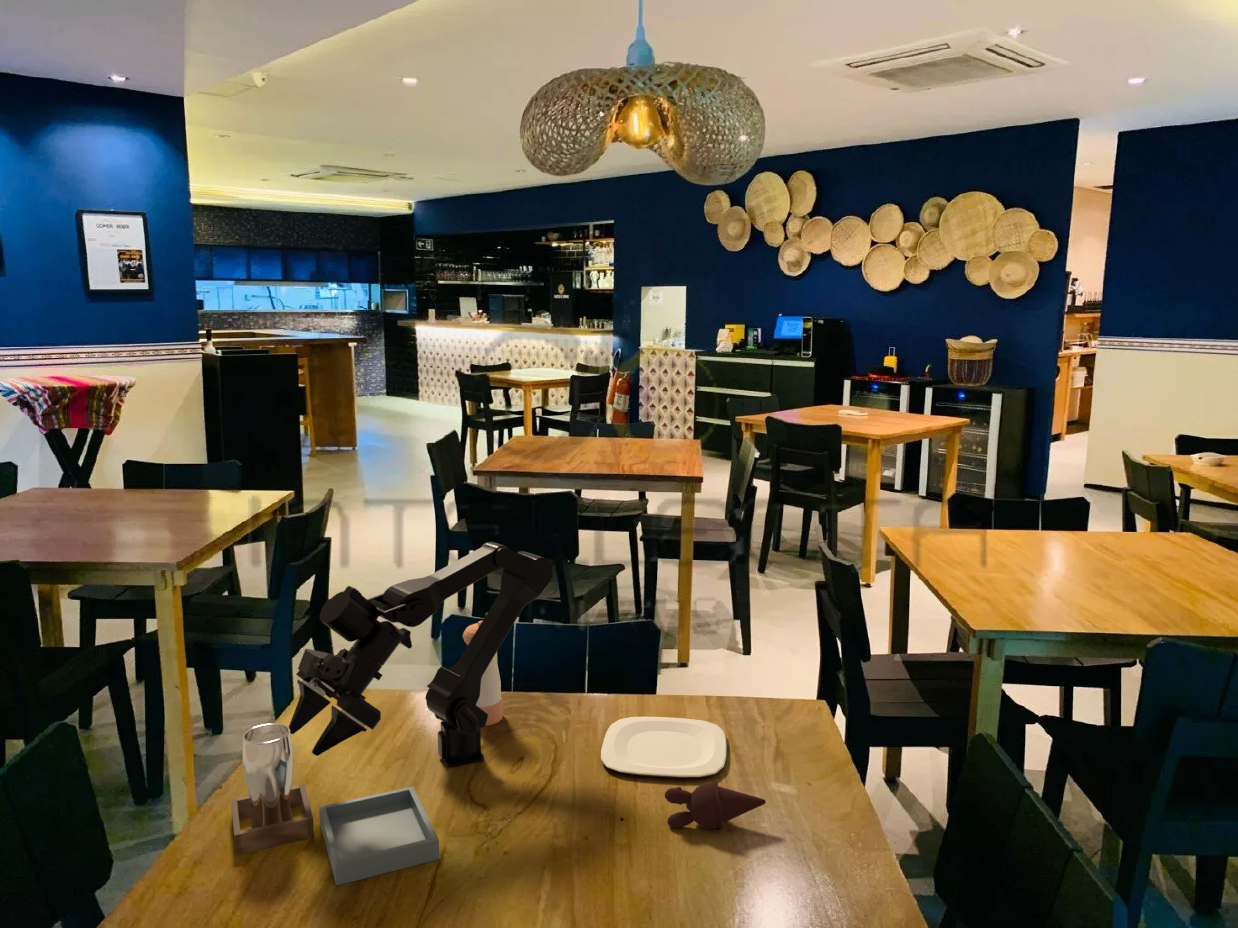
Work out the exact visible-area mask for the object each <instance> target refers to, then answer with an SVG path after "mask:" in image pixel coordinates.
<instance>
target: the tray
mask: <svg viewBox="0 0 1238 928" xmlns="http://www.w3.org/2000/svg"><path fill="white" fill-rule="evenodd" d="M318 808H319V809H318V810H319V827H320V830H321V833H322V837H323V841H324V845H325V849H326V853H327V856H328V860H329V864H330V867H331V871H332V875H333V879H334V883H335V886H336V887H337V886H340V885H345V884H348V883H353V882H355V881H360V880H364V879H368V878H372V877H376V876H380V875H383V874H389V873H391V872H394V871H398V870H399V871H400V870H403V869H406V868H411V867H414V866H417V865H422V864H426V863H430V862H435V861H437V860H440V841H439V840H440V839H439V838H438V837H439V836H438V835H437V833H436V831H435V829H434V826H433V824H432V823H431V820H430V819H429V816H428V815H427V813H426V810H425V808H424V806H423V804H422V802H421V799H420V798H419V796H418V794H417V791H416V789H415V787H414V786H413V785H412V786H408V787H402V788H398V789H394V790H389V791H385V792H380V793H376V794H371V795H367V796H362V797H358V798H352V799H347V800H343V801H339V802H335V803H329V804H326V805H325V804H324V805H322V806H321V805H320V806H318Z"/></svg>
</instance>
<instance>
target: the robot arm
mask: <svg viewBox="0 0 1238 928" xmlns="http://www.w3.org/2000/svg"><path fill="white" fill-rule="evenodd" d="M497 570H501V571H502V573H501V577H500V591H499V594H498V595H497V597H496V598H495V600H494V602H493V603H492V605H491V607H490V608H489V610H488V611H487V613H486V615H485V617H484V618H483V620H481V621H482V623H481V624H480V626H479V628H478V629H477V631H476V633H475V634H474V636H473V638H472V639H471V641H470V642H469V644H468V645H467V646H466V647H465V649H464V651H463V652H462V654H461V656H460V657H459V659H458V661H457V662H456V663H455V664H453V665H452V666H450V667H449V668H446V667H444V666H440V667H439V668H438V669H437V671H436V673H435V675H434V677H433V679H432V680H431V681H430V683H428V684H427V685H426V688H428V689H427V692H426V694H425V697H424V698H425V700H426V707H427V709H428V710H429V711H430V712H431V713H432V714H434V716H435V719H437V720H440V730H439V731H437V746H438V747H437V751H438V752H437V753H438V755H439V756H440V758H441V760H442V761H443V762H444V763H445V765H446V767H448V768H451V767H455V766H459V765H460V766H461V765H465V764H470V763H475V762H479V761H484V760H485V755H484V754H483V752H482V735H481V734H482V733H481V729H482V728H484V727H486V726H485V725H486V722H487V718H488V714H487V713H486V712H484V711H483V710H482V709H480V708H479V707H478V706H476V704H477V701H478V699H479V697H480V687H481V678H482V676H483V674H484V672H485V671H486V669H487V667H488V666H489V664H490V662H491V661H492V659H493V657H494V656H495V654H496V652H497V653H498V650H499V649H500V647H501V645H502V644H503V642H504V640H505V639H506V637H507V635H508V634H509V632H510V630H511V629H512V627H513V626H514V624H515V622H516V621H517V619H518V617H519V616H520V614H521V612H522V610H523V609H524V607H525V606H526V605H528V604H529V603H531V602H532V601H534V600H535V599H537V598H538V597H540V596H541V595H542V594H543V592H544V591H545V590H546V588H548V586H549V584H550V583H551V581H552V579H553V576H554V572H553V566H552V563H551V561H550V560H549V559H548V558H546V557H543V556H540V555H537V554H534V553H530V552H527V551H522V550H520V551H515V550H513V549H510V548H509V547H508V546H506V545H504V544H500V543H497V542H494V541H489V542H485V543H484V544H482V545H481V547H480V548H478V549H476V550H474V551H472V552H470V553H468V554H467V555H465V556H463V557H461V558H460V559H457V560H455V561H454V562H452V563H450V564H448V565H446V566H445V567H443V568H441V569H439V570H437V571H435V572H433V573H432V574H430V575H427V576H424V577H419V578H413V579H407V580H404V581H402V582H398V583H395V584H392V585H391V586H389V587H388V588H387V589H385V590H384V592H383V593H381V594H377V595H375V596H372V597H369V598H366V597H365V596H364V595H362V593H361V591H359V590H358V589H357V588H355V587H354V586H350V585H347V586H346V588H345V589H344V590H343V591H339V592H338V593H336V594H334V595H333V596H332V597H331V598H329V599H327V601H325V602H324V604H323V606H322V607H321V610H320V613H319V621H321V623H322V624H324V625H325V626H327V628H329V629H330V630H332V631H333V632H334V633H336V634H337V635H338V636H340V637H341V638H342V639H344V640H345V641H347V642H349V643H350V642H354V643H353V644H352V646H351V647H350V648H349V650H348V649H346V648H344V647H343V649H342V648H341V649H340V650H339V651H338V653H337V654H332V653H329V652H325V651H321V650H315V649H310V648H305V649H304V651H303V654H302V656H301V659H300V662H299V665H298V667H297V670H298V671H297V673H296V676H297V677H299V678H300V679H301V680H302V681H301V680H300V679H297V680H296V683H297V684H298V688H299V689H298V690H299V693H300V694H299V698H298V701H297V705H296V707H295V709H294V712H293V715H292V717H291V720H290V723H289V724H288V727H289V728H290V733H291V735H294V734H296V733H297V732H298V731H300V730H301V729H303V728H304V726H306V725H307V724H308V723H309V722H310V721H311V720H312V719H314V718H315V717H316V716H317V715H318V714H320V713H321V712H322V711H323V710H324V709H326V708H327V706H329V705H330V704H331V701H330V700H329V699H332V698H333V699H334V700H336V706H337V707H335V706H334V705H331V717H330V721H329V722H328V724H327V726H326V727H325V728H324V730H323V732H322V733H321V735H320V737H318V740H317V741H316V743H315V745H314V746H313V748H312V749H311V754H312V755H314V756H316V757H319V755H321V754H324V753H325V752H328V750H330V749H332V748H333V747H335V746H337V745H338V744H341V743H342V742H344V741H346V740H347V739H349V738H353V736H355V735H358V734H359V733H361V732H364V733H365V732H367V731H368V729H367V728H366V727H368V728H369V729H371V730H372V731H374V730H375V728H376V727H377V726H378V725H379V723H380V721H381V720H382V716H381V715H382V713H381V710H380V709H378V708H376V707H375V706H374V705H372V704H371V703H369V702H368V701H366V698H367V697H366V696H364V695H363V693H364V692H365V691H366V690H367V688H368V686H369V685H370V684H371V682H372V681H374V679H376V681H380V679H381V678H382V677H383V674H382V673H380V670H381V669H382V667H383V666H384V665H385V664H386V662H387V661H388V660H389V658H390V657H391V656H392V654H393V653H394V652H395V651H396V649H397V647H398V646H399V645H402V646H404V647H406V648H407V649H411V648H412V647H413V644H412V639H411V630H409V629H407V628H406V627H409V628H415V627H418V626H420V625H421V624H423V623H424V622H425V621H426V620H428V619H429V618H430V617H432V616H433V615H434V614H436V612H437V611H438V609H439V607H440V606H441V604H442V603H443V602H444V601H446V600H447V599H448V598H450V597H452V596H453V595H455V594H457V593H459V592H460V591H461V592H462V591H463V590H465V589H466V588H467V587H470V586H471V585H473V584H475V583H476V582H478V581H480V580H482V579H483V578H485V577H487V576H489V575H491V574H493V572H495V571H497ZM379 617H380V618H381V619H384V621H379V620H378V618H379ZM394 623H397V624H398V623H399V624H401V625H402V626H405V627H402V628H398V626H396V625H395V624H394ZM325 696H327V697H325ZM328 698H329V699H328ZM338 707H339V708H338ZM340 709H341V710H340ZM365 726H366V727H365Z"/></svg>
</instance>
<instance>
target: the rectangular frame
mask: <svg viewBox="0 0 1238 928" xmlns="http://www.w3.org/2000/svg"><path fill="white" fill-rule="evenodd" d="M230 804H231V817H232V818H231V819H232V829H233V830H232V831H233V837H234V838H233V839H234V840H233V841H234V851H235V856H237V855H242V854H246V853H250V852H255V851H259V850H263V849H267V848H273V847H277V846H280V845H284V844H288V843H293V842H298V841H302V840H306V839H310V838H314V837H315V827H314V816H313V813H312V808H311V804H310V799H309V796H308V792H307V788H306V784H299V785H294V786H291V791H290V807H291V809H292V808H296V807H300V808H301V812H302V817H299V818H294V819H293V820H289V821H284V822H280V823H275V824H271V825H266V826H262V827H257V828H253V829H250V828H249V829H245V830H241V827H240V819H245V818H246V819H247V818H249V817H252V805H251V800H250V796H249V795H245V796H242V797H236V798H232V799H230Z"/></svg>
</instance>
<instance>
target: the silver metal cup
mask: <svg viewBox="0 0 1238 928" xmlns="http://www.w3.org/2000/svg"><path fill="white" fill-rule="evenodd" d="M292 742H293V741H292V734H291V733H290V728H289V725H286V724H284V723H278V722H272V723H271V722H270V723H263V724H260V725H256V726H253V727H251V728H249V729H248V730H246V731H245V732H244V733H243V734H242V748H241V749H242V750H241V752H242V758H241V759H242V770H243V777H244V782H245V784H246V789H247V792H248V796H250V800H251V805H252V816H251V822H250V828H249V829H253V828H257V827H262V826H266V825H271V824H275V823H280V822H284V821H289V820H293V819H295V818H294V815H293V812H292V808H291V807H290V791H291V787H292V783H293V782H292V781H293V775H294V748H293V743H292Z"/></svg>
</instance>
